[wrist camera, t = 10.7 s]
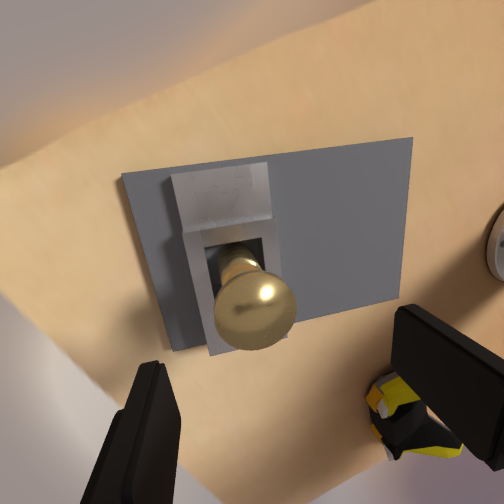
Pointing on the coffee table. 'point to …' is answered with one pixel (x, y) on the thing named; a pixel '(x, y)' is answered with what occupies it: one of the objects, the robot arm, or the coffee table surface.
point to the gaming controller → (407, 421)
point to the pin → (251, 301)
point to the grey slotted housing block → (224, 227)
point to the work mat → (291, 230)
